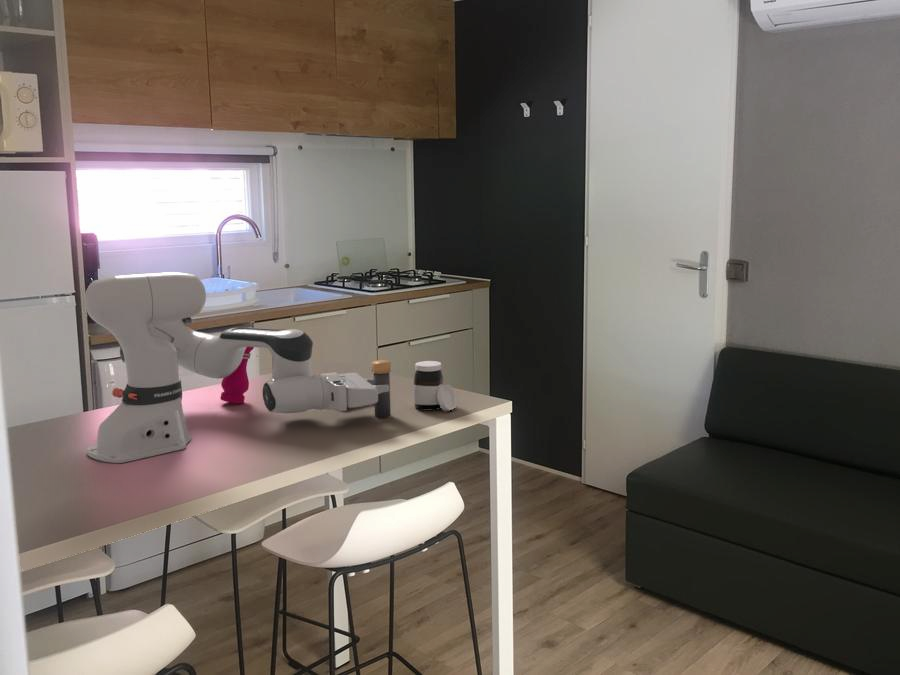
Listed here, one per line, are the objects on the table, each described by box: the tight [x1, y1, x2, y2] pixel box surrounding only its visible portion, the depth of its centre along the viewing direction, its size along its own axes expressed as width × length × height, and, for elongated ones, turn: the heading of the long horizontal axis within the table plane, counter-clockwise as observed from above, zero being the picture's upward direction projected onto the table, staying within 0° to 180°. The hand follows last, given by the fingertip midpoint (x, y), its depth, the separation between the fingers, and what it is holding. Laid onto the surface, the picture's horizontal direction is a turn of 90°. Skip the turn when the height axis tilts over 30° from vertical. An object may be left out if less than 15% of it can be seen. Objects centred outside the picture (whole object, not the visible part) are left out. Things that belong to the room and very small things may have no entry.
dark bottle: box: [371, 359, 392, 419], centre depth 213 cm, size 5×5×14 cm
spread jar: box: [413, 360, 458, 412], centre depth 220 cm, size 12×11×12 cm
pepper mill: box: [220, 347, 255, 405], centre depth 228 cm, size 7×7×20 cm
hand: (385, 385), depth 213 cm, fingers closed on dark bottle, 4 cm apart
